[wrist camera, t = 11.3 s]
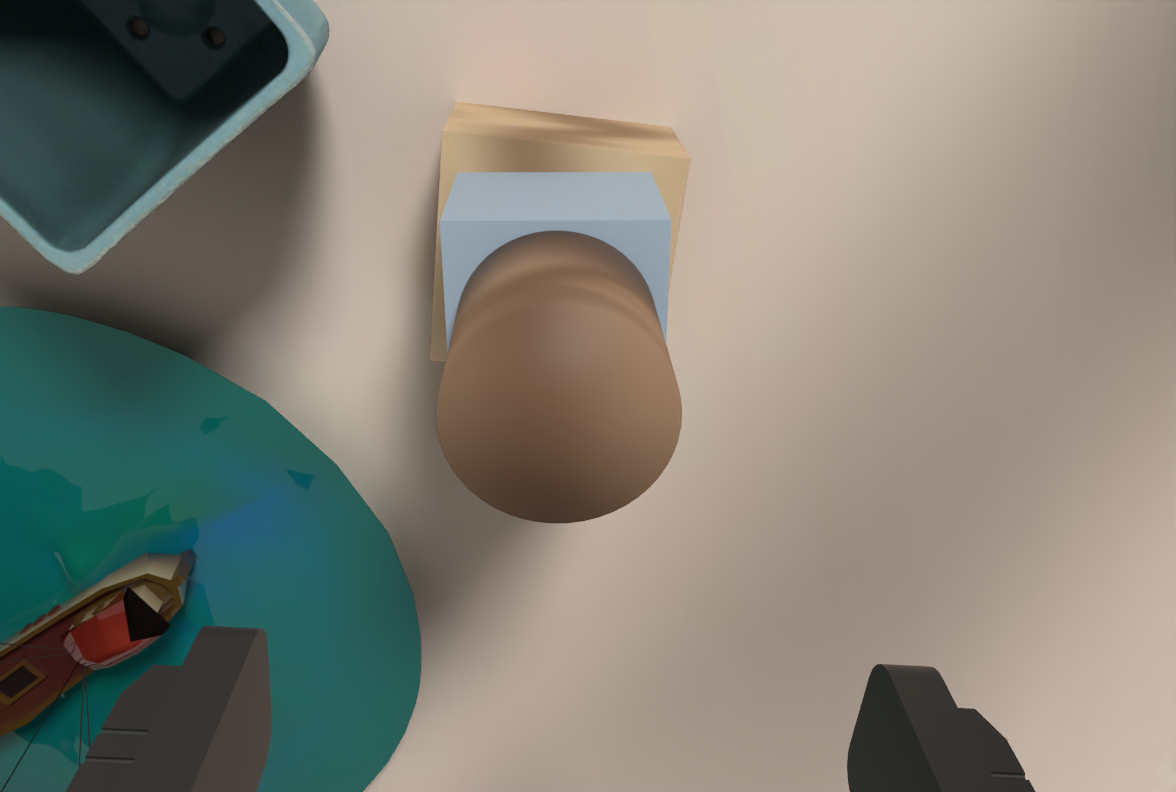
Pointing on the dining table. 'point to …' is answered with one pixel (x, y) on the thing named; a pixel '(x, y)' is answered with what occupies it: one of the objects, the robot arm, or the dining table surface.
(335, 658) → the sailing ship model
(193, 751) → the robot arm
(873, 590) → the dining table surface
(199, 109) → the flower pot
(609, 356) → the brown rounded cylinder
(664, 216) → the mid block
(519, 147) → the base block
